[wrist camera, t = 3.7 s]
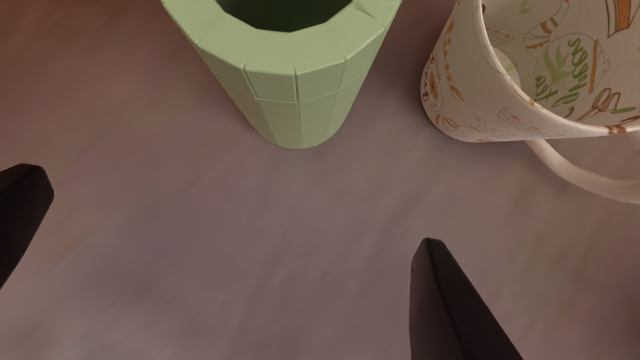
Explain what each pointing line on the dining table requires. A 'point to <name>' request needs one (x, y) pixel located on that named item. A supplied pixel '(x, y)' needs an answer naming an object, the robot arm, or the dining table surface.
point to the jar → (288, 58)
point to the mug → (539, 78)
